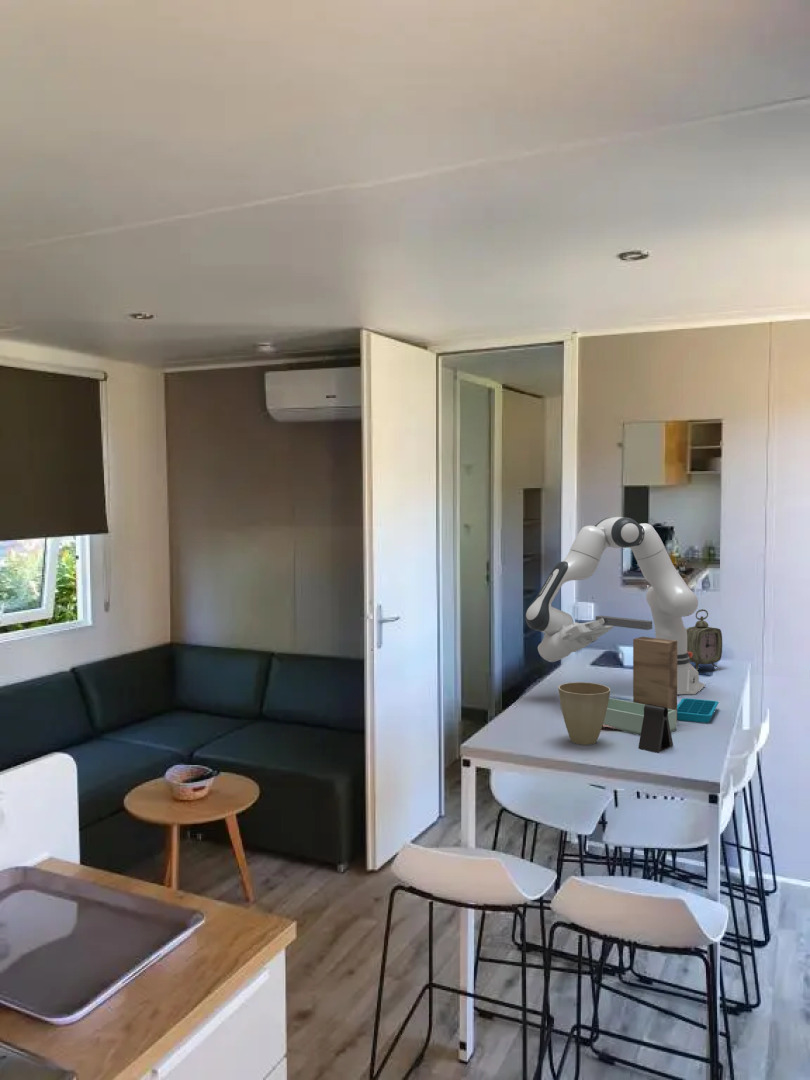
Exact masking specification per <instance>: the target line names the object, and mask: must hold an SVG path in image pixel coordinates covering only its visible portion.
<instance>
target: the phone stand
mask: <svg viewBox="0 0 810 1080" xmlns="http://www.w3.org/2000/svg"><path fill="white" fill-rule="evenodd" d="M639 736H640V737H639V741H638V742H639V743H638V745H637V746H638V749H639V748H640V749H639V750H643V749H645V751H648V752H652V753H656V752H657V754H659V753H660V752H661V753H662V752H663V751H665V750H668V749H670V748H672V747H673V746H674V742H673V737H672V732H671V731H670V726H669V720H668V709H667V707H661V706H656V705H651V704H647V705H645V706H644V718H643V724H642V729H641V735H639Z"/></svg>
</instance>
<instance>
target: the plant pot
mask: <svg viewBox="0 0 810 1080" xmlns="http://www.w3.org/2000/svg"><path fill="white" fill-rule="evenodd" d="M557 688H558V697H559V703H560V707H561V708H560V709H561V713H562V716H563V721H564V724H565V728H566V731H567V735H568V736H569V739H570V741H571V742H572V743H574V744H576V745H580V744H581V746H582V745H583V746H590V745H589V744H591V745H595V744H597V741H598V739H599V737H600V734H601V731H602V728H603V727H602V726H603V723H604V719H605V715H606V711H607V707H608V702H609V698H610V694H611V688H610V687H608V686H606V685H603V684H599V683H594V682H586V681H585V682H583V681H582V682H581V681H579V682H567V683H562V684H560V685H558V687H557Z"/></svg>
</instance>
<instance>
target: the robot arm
mask: <svg viewBox="0 0 810 1080" xmlns="http://www.w3.org/2000/svg"><path fill="white" fill-rule="evenodd" d="M608 547H609V548H613V549H619V548H620V549H621V548H626V549H627V548H629V549H630V550H631V551H632V553H633V556H634V559H635V561H636V562H637V566H638V567H639V569H640V572H641V574H642V576H643V577H644V578H645V579H644V580H646V581H647V582H648V584H649V585H650V587H649V588H648V590H647V592H646V595H645V597H646V602H647V604H648V606H649V607H650V612H651V616H652V619H653V620H652V622H653V625H654V632H655V634H654V635H655V638H658V639H666V640H675V641H677V695H697V694H698V693H699V692H701V691H702V690H703V689H704V688H703V687H704V686H705V685H706V684H705V683H702V682H700V680H699V679H700V676H699V675H700V674H699V673H700V672H698V671H697V670H696V669H695V667H694V666H693V665H692V664H691V662H690V659H689V657H690V658H692V656H693V653H692V652H687V630H686V629H687V628H686V627H685V624H684V622H683V617H690V616H692V615H693V614H695V613H696V612H697V609H698V605H699V599H698V597H697V594H696V593H695V592H693V591H692V590H691V589H690V587H689V586H688V585H687V583H686V582H685V580H684V579H683V577H682V576H681V575H680V573H679V572H678V570H677V569H676V567H675V565H674V563H673V562H672V559H671V557H670V555H669V554H668V551H667V549H666V546H665V543H663V541H662V539H661V537H660V534H658V532H657V531H656V530H655V528H654V527H653V525H651V524H650V523H642V522H641V523H639V522H637V521H636V520H635V519H633V518H631V517H624V516H615V517H614V516H613V517H605V518H604V519H601V520H600V521H598V522H597V523H596V524H595V525H584V526H583V527H582V528H581V529H580V531H579V532H578V534H577V535H576V537H575V539H574V540H573V542H572V545H571V547H570V549H569V551H568V554H567V555H566V557H565V558H564V559H563V560H562V561H559V562H558V563H556V564H555V565H554V566H553V568H552V570H551V571H550V572H549V574H548V576H547V578H546V579H545V581H544V583H543V585H542V587H541V588H540V590H539V592H538V593H537V595H536V597H535V598H534V599H533V601H532V602H531V603H530V604H529V606H528V608H527V609H526V611H525V621H526V625H527V627H529V629H531V630H534V631H537V632H541V633H543V634H544V636H543V638H542V640H541V642H540V643H539V644H538V646H537V651H538V654H539V656H540V657H541V658H542V659H543V660H545V661H547V662H549V663H554V662H557V661H560V660H562V659H564V658H567V657H568V656H570V654H572V653H576V652H578V651H580V650H582V649H583V648H586V647H588V646H589V645H590V644H592V643H594V642H596V641H598V639H599V637H601V636H603V635H605V634H606V633H608V632H609V631H610V630H613V628H614V627H615V626H609V625H603V624H604V623H606V620H605V618H601V619H599V620H597V621H596V620H592V621H587V622H582V623H580V622H574V618H573V616H572V615H571V614H569V613H568V612H565V611H563V610H561V609H559V608H556V607H553V606H552V603H553V601H554V599H555V597H557V595H558V593H559V591H560V589H561V587H562V586H563V585H564V584H565V583H567V582H570V581H583V580H588V578H590V577H592V576H593V575H594V573H595V572H596V570H597V568H598V566H599V563H600V561H601V558H602V555H603V553H604V551H605V550H606V549H607V548H608ZM702 688H703V689H702ZM701 689H702V690H701ZM700 690H701V691H700ZM698 691H699V692H698ZM697 692H698V693H697ZM696 693H697V694H696Z"/></svg>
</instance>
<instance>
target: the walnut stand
mask: <svg viewBox="0 0 810 1080" xmlns="http://www.w3.org/2000/svg"><path fill="white" fill-rule="evenodd" d="M632 655H633V656H632V660H633V661H632V667H633V668H632V675H633V676H632V702H634V703H640V704H645V705H647V704H651V705H656V706H661V707H667V709H672V710H677V705H678V694H677V641H675V640H666V639H658V638H656V637H648V636H640V637H636V638H633V640H632Z"/></svg>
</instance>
